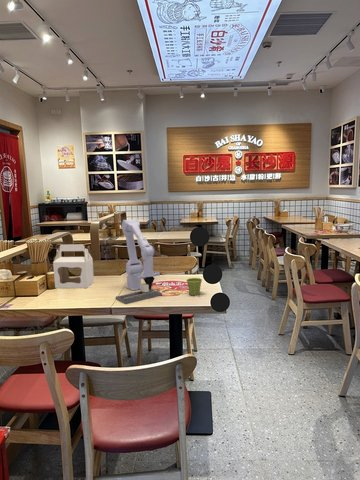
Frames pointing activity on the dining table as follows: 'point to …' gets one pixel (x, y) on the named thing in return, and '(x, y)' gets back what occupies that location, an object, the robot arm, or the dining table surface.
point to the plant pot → (194, 285)
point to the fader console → (137, 296)
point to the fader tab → (144, 288)
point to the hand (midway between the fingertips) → (149, 289)
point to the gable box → (82, 262)
